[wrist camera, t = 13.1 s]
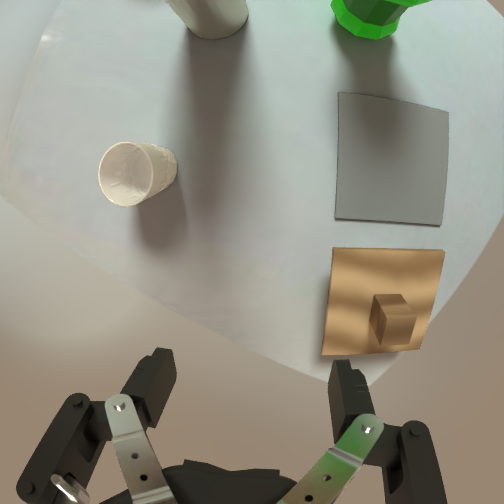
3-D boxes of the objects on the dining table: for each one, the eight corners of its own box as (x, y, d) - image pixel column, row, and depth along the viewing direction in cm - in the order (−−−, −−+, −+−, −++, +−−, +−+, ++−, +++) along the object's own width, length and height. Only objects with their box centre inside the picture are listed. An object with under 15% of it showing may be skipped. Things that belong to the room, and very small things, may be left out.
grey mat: (337, 92, 34) (338, 91, 34) (446, 112, 33) (448, 111, 32) (334, 217, 41) (335, 217, 40) (440, 224, 39) (441, 225, 38)
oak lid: (332, 247, 35) (343, 269, 28) (441, 249, 33) (467, 269, 27) (321, 351, 40) (326, 383, 34) (417, 345, 39) (433, 373, 32)
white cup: (154, 204, 42) (122, 219, 33) (125, 165, 41) (88, 172, 31) (192, 171, 40) (166, 178, 31) (161, 131, 39) (128, 128, 29)
